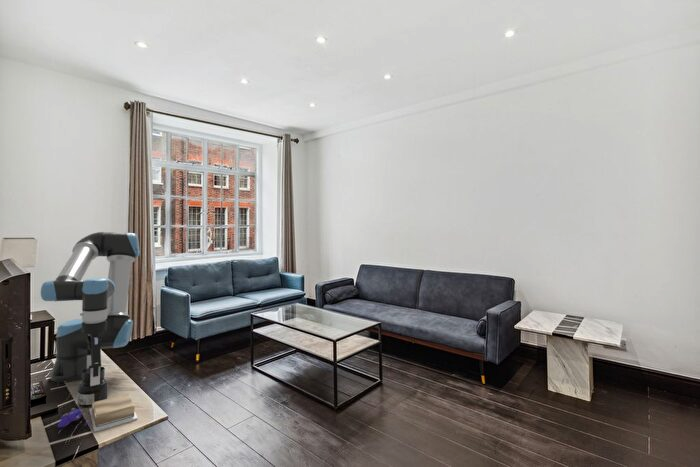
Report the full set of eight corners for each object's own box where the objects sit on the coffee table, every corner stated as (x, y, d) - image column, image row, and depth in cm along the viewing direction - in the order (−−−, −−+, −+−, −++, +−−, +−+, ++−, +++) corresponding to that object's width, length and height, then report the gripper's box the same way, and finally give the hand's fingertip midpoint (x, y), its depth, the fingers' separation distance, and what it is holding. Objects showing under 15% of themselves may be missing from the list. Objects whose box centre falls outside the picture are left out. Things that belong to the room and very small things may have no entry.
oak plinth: (91, 411, 123) (92, 402, 122) (128, 401, 130) (128, 393, 130) (95, 425, 114) (95, 416, 114) (134, 414, 122) (134, 405, 121)
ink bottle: (72, 403, 128) (72, 371, 128) (98, 393, 136) (99, 363, 135) (86, 411, 123) (86, 377, 123) (112, 400, 131) (113, 369, 131)
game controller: (49, 413, 115) (87, 399, 121) (55, 438, 114) (92, 422, 120) (45, 418, 107) (85, 403, 113) (50, 445, 106) (90, 428, 112)
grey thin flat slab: (89, 410, 124) (89, 408, 124) (128, 400, 132) (128, 398, 132) (94, 431, 112) (94, 429, 112) (137, 419, 120) (137, 417, 120)
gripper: (79, 314, 136) (77, 369, 136) (84, 330, 117) (83, 393, 117) (102, 312, 140) (101, 364, 141) (111, 327, 122) (110, 387, 122)
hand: (92, 378), depth 129 cm, fingers open, 13 cm apart
